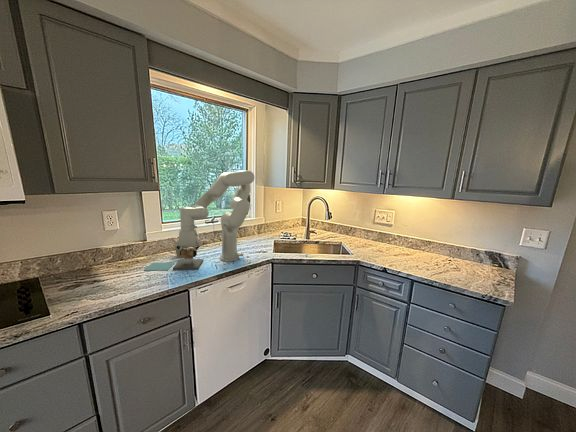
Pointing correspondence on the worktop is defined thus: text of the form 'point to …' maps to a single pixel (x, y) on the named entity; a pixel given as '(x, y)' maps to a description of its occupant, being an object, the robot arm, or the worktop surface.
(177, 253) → the flower pot
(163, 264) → the mat
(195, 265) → the stand
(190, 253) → the walnut link
